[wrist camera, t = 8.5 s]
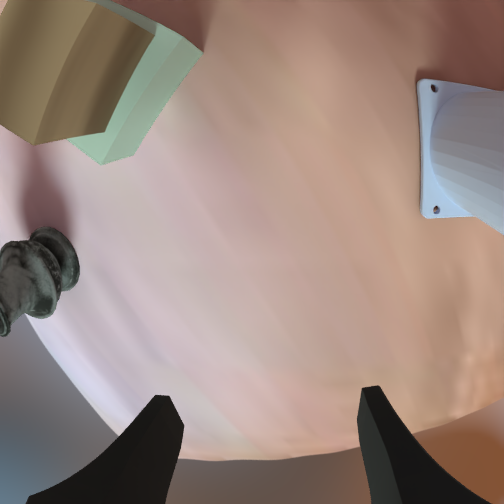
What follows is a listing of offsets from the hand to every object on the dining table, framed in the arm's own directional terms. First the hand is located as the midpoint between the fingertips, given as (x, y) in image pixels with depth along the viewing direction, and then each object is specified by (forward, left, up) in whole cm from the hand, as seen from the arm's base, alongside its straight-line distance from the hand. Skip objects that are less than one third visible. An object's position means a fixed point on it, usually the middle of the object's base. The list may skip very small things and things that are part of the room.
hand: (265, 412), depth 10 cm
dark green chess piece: (+16, -3, -10) cm, 19 cm away
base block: (+7, -14, -10) cm, 18 cm away
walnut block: (+7, -14, -6) cm, 17 cm away
